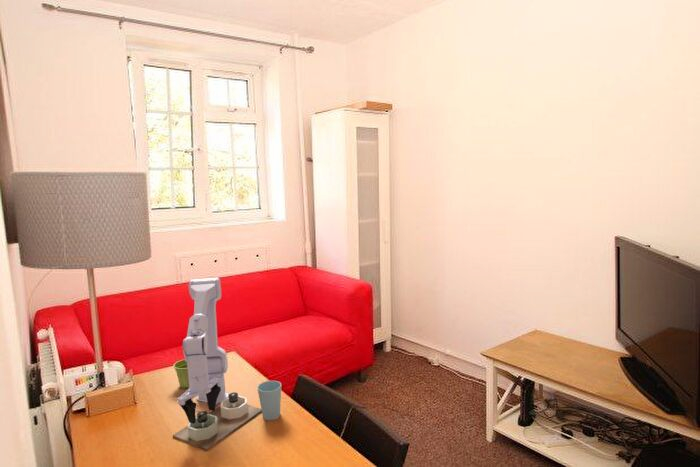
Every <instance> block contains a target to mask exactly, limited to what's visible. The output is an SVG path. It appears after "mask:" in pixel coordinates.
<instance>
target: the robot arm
mask: <svg viewBox="0 0 700 467" xmlns="http://www.w3.org/2000/svg"><path fill="white" fill-rule="evenodd" d="M221 285H222V284H221V280H220V278H219V277H211V278H195V279H193V278H192V279H191V280H190V281H189V284H188V292H189V296H190V297H191V299H192V300H194V303H193V304H194V305H193V306H194V308H193V309H194V310H193V315H192V316H191V317H189V321H188V327H187V332H186V337H185V338H184V339H183V341H182V352H183V356H184V359H185V361H186V362H187V367H188V378H189V388H187V390H186V391H185V392H184V393H183V394H181V395H180V396H178V397H177V403H178V405H179V406H180V407H181V409H182V410H183V411H184V413H185V416H186V417H187V420H188V423H189V422H190V423H193V424H194V423H195V421H196V417H197V416H196V407H197V403H198V402H194V400H193V399H194V398H196V397H197V398H196V400H197V401H200V402H203V403H206V404H207V408H208V410H209V411H210V412H211V411H215V409H216V408H217V407H216V406H217V405H218V404H221V402H222V401H223V400H225V399H227V398H228V397H229V396H228V395H229V394H230V393H228V392H226V385H225V384H226V382H225V381H226V380H225V374H226V373H227V371H228V367H229V366H228V357H227V351H226V350H225V349H223V348H222V347H220V346H218V343H219V342H218V324H217V311H216V310H217V308H216V307H217V306H216V305H217V301H219V300H221V299H222V286H221Z"/></svg>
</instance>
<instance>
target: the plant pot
mask: <svg viewBox="0 0 700 467" xmlns="http://www.w3.org/2000/svg"><path fill="white" fill-rule="evenodd" d="M172 367H173V369H174V370H175V373H176V375H177V381H178V383H179V384H178V385H179V387H180V388H182V389H185V388H187V389H189V378H188V367H187V362H186V361H185V358H184V359H181V360H177V361H175V363H174V364H173V366H172Z"/></svg>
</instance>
